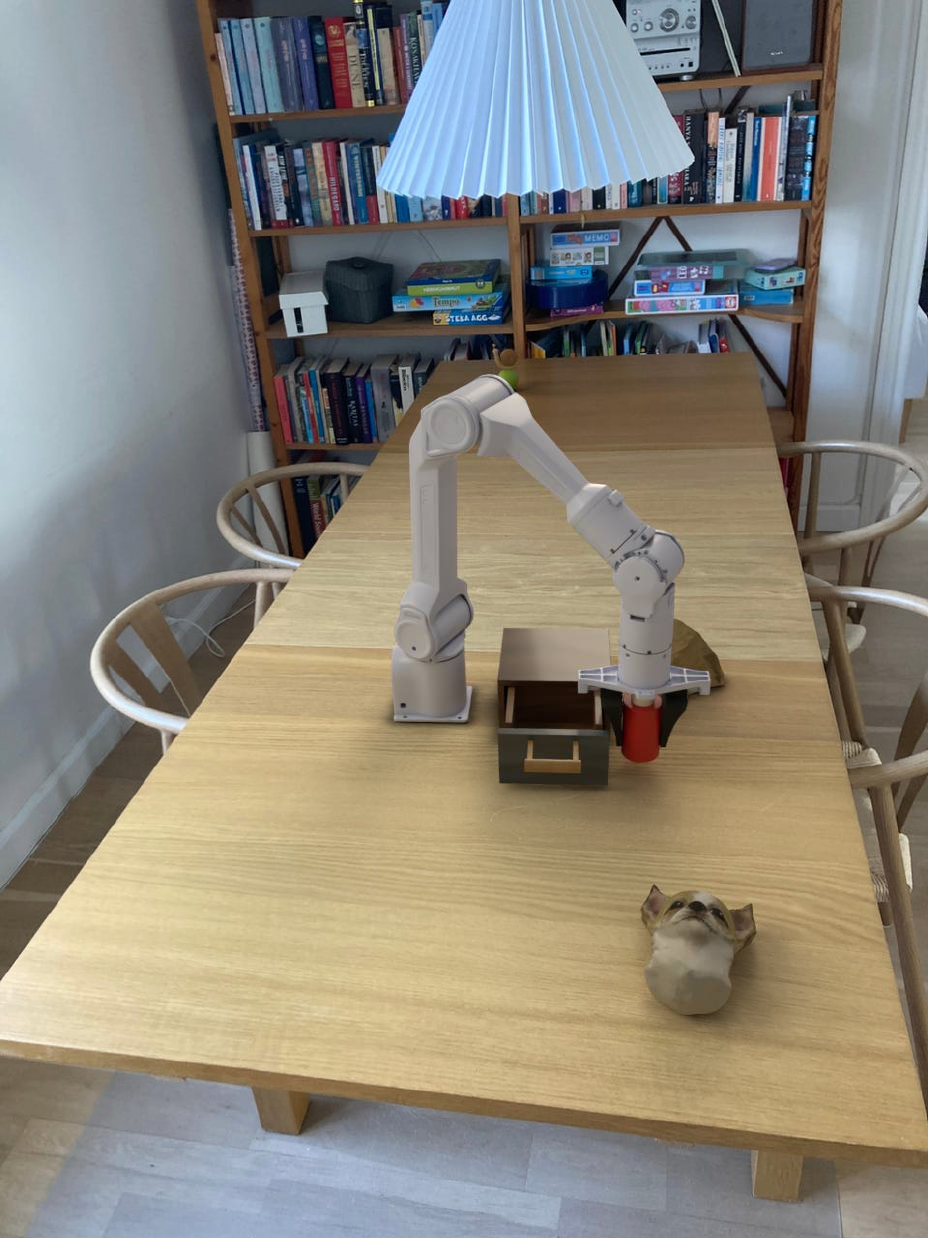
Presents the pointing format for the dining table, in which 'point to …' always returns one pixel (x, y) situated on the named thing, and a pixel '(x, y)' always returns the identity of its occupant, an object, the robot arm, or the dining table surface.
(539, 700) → the drawer
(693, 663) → the rock
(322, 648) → the dining table surface
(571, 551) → the dining table surface
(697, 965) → the ceramic sculpture
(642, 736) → the red plastic cylinder
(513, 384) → the snail figurine
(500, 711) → the cabinet
